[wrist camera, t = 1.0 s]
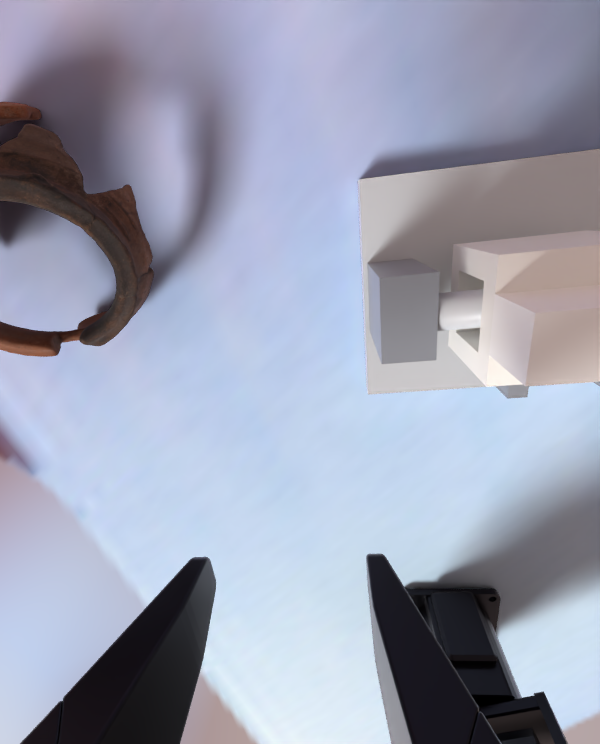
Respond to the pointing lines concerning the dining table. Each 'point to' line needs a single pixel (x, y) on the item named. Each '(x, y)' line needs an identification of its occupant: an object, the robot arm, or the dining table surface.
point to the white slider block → (531, 309)
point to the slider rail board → (435, 251)
